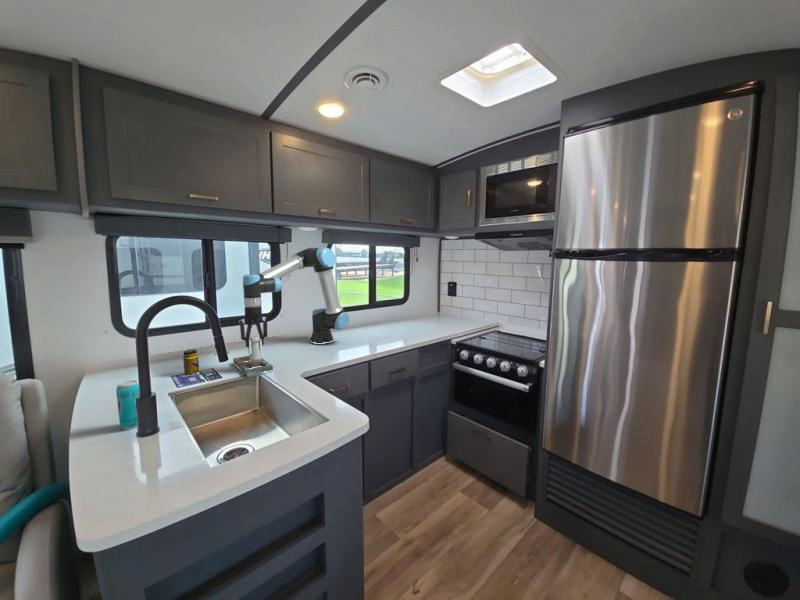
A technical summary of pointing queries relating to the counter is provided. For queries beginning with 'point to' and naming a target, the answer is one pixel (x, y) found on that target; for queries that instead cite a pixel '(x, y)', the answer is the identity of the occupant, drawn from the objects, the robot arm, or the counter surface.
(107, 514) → the counter surface
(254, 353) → the salt shaker
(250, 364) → the grey rectangular tray
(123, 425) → the beverage can
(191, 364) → the condiment
